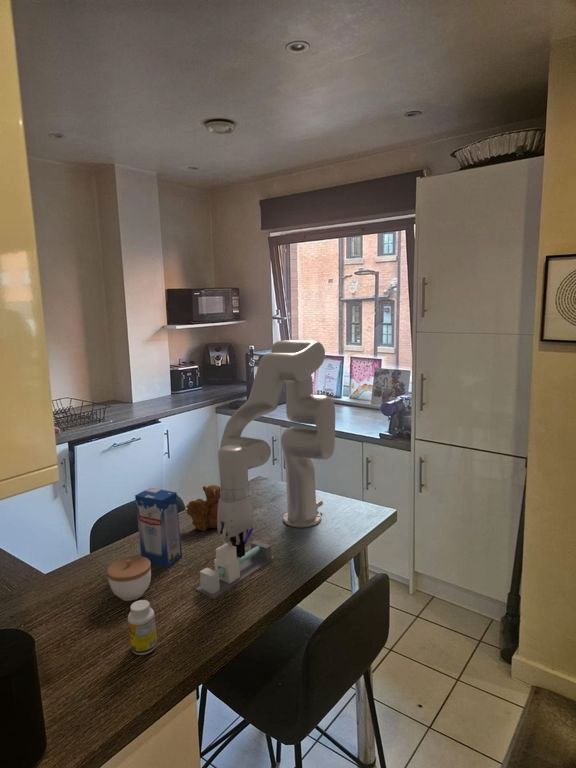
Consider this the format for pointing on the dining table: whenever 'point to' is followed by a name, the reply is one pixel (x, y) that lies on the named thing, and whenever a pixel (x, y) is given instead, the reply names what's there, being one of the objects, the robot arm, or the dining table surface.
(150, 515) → the milk carton
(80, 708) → the dining table surface
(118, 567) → the lidded jar
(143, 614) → the supplement bottle
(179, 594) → the dining table surface
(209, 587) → the threaded rod slide
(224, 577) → the sleeve
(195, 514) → the stuffed squirrel
